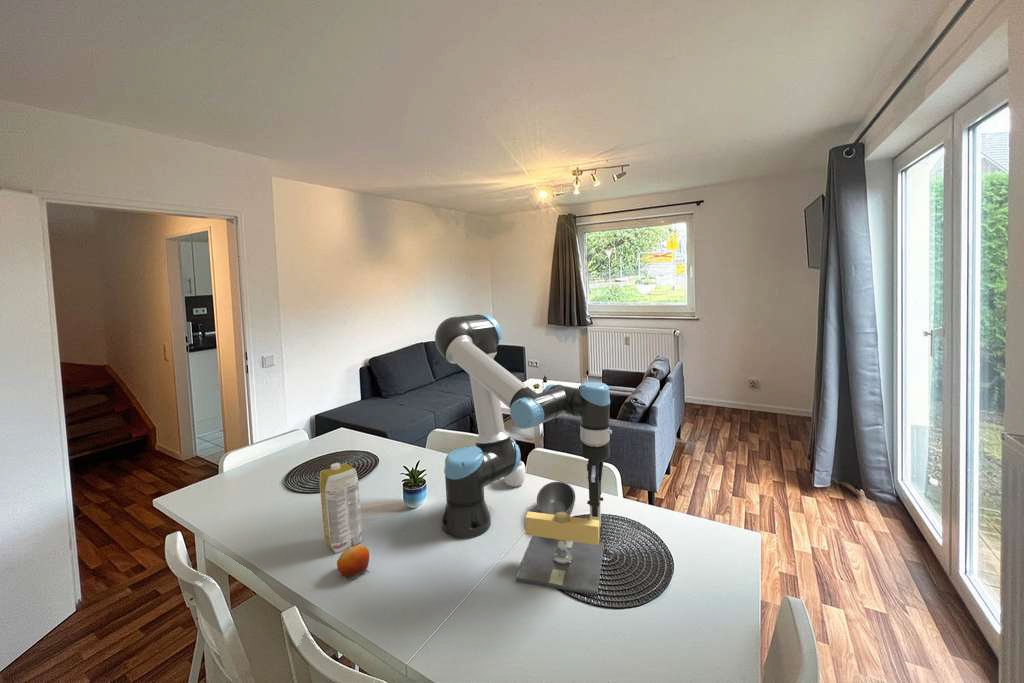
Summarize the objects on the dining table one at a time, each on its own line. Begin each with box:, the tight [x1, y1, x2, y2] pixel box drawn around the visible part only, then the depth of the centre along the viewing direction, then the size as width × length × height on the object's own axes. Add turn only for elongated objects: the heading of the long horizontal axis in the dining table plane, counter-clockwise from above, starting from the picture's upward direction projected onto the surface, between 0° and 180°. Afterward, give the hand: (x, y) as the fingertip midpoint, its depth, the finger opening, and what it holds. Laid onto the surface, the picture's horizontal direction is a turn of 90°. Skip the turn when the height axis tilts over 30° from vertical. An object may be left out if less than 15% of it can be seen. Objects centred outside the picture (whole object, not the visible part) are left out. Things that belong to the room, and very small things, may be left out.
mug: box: [497, 460, 526, 488], centre depth 160 cm, size 12×8×8 cm
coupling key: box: [525, 511, 600, 545], centre depth 113 cm, size 19×4×6 cm, turn 73°
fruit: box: [336, 544, 370, 580], centre depth 112 cm, size 8×8×8 cm
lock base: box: [515, 536, 605, 597], centre depth 114 cm, size 20×20×7 cm
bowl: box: [536, 481, 576, 516], centre depth 138 cm, size 12×22×6 cm, turn 169°
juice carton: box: [319, 462, 363, 554], centre depth 124 cm, size 9×8×24 cm
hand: (595, 525), depth 117 cm, fingers closed
